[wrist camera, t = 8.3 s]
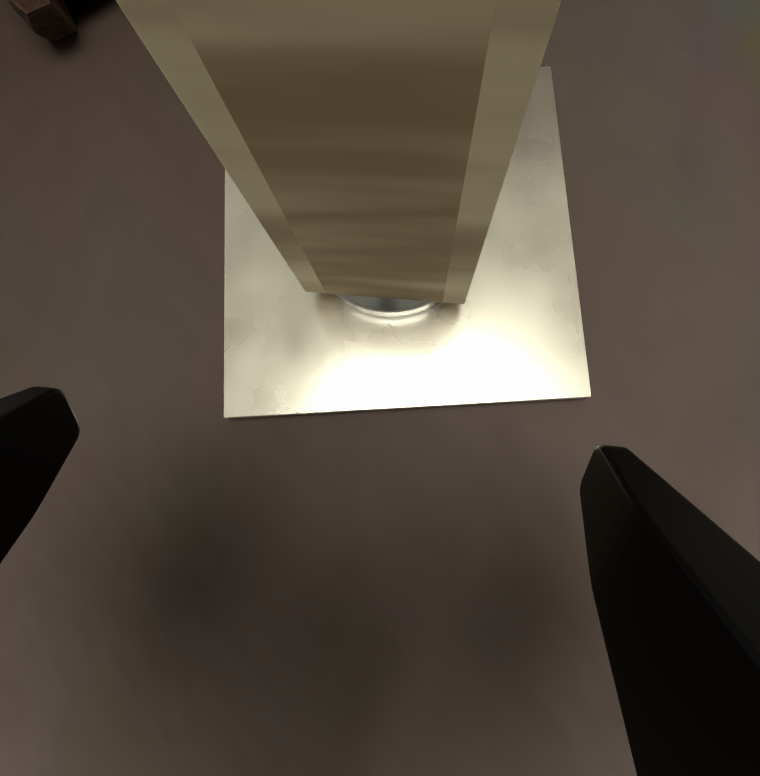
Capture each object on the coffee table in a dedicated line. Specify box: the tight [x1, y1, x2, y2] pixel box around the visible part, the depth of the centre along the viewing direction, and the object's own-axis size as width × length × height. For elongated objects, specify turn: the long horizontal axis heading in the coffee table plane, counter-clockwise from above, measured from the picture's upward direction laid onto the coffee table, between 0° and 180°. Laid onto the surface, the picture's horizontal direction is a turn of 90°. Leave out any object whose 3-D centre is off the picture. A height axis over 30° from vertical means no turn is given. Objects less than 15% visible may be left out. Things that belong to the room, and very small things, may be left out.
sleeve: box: [116, 0, 561, 304], centre depth 12 cm, size 6×6×12 cm
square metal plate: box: [224, 66, 591, 419], centre depth 16 cm, size 14×14×6 cm
